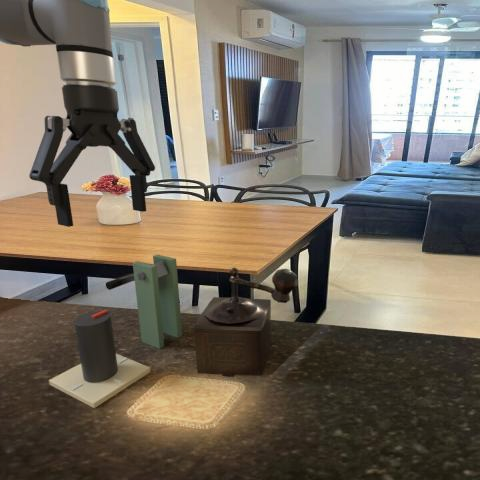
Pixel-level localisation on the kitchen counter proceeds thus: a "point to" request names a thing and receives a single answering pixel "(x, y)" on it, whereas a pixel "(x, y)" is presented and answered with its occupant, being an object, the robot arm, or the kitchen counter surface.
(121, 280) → the dark grey lever
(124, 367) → the dial panel
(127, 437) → the kitchen counter surface
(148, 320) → the green lever stand
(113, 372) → the cylinder
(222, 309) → the coffee grinder
